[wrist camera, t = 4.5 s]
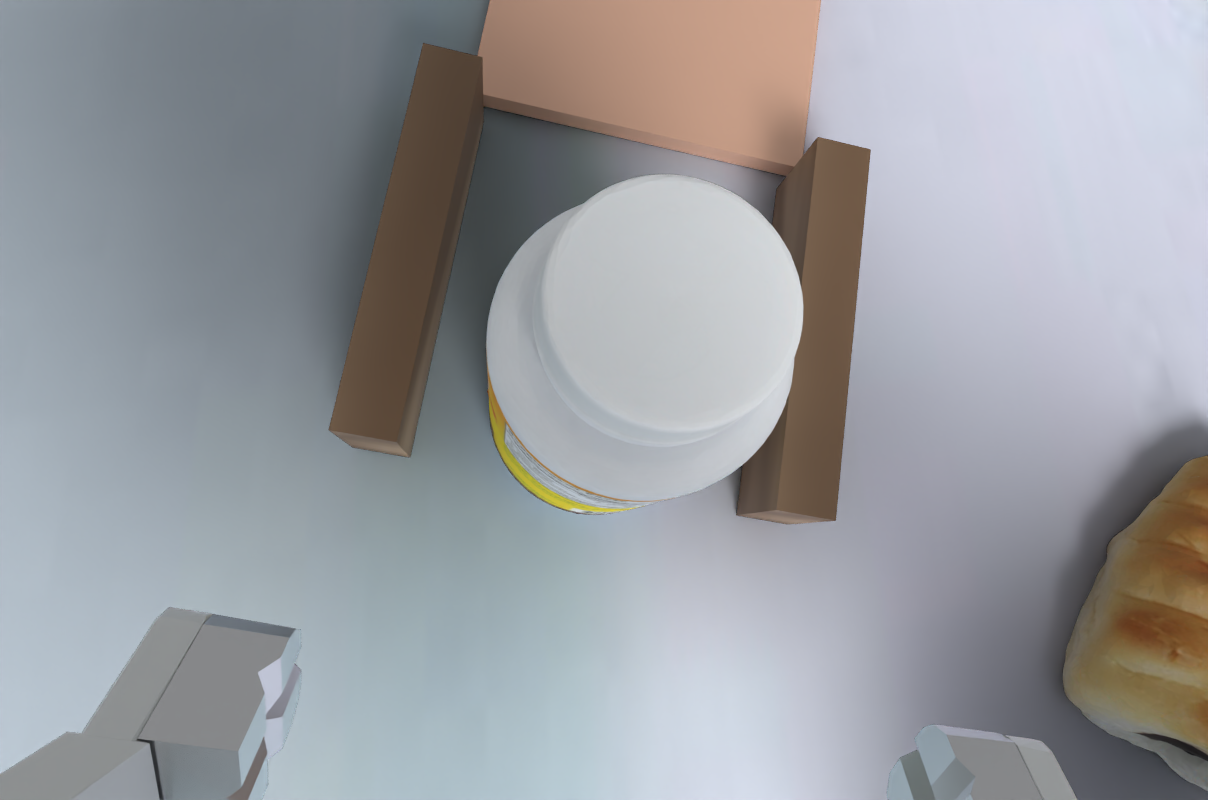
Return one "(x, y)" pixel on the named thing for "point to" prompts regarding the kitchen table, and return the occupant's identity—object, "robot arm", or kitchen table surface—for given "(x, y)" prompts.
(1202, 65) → the kitchen table surface
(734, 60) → the terracotta tile
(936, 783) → the robot arm
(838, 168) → the walnut lane walls
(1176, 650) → the pastry
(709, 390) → the supplement bottle
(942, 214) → the kitchen table surface
